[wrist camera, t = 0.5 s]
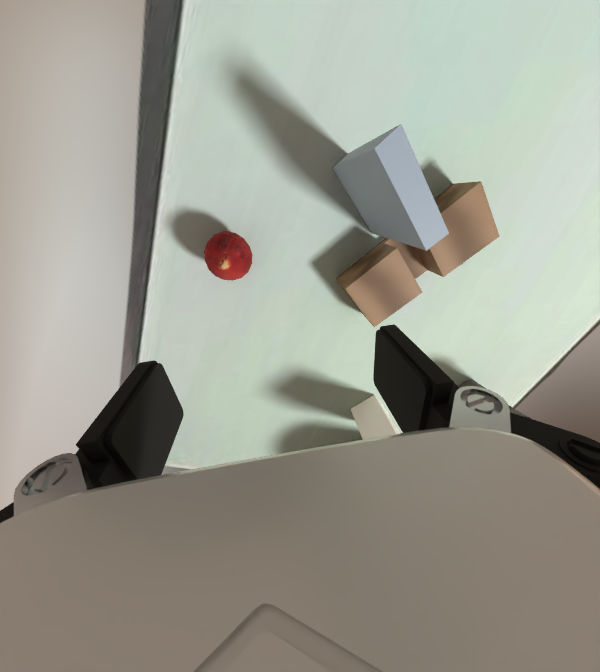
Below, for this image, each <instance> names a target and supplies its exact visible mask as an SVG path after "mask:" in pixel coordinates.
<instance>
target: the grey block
mask: <svg viewBox="0 0 600 672" xmlns="http://www.w3.org/2000/svg"><path fill="white" fill-rule="evenodd" d="M333 170H334V172H335V173H336V175H337V177H338V178H339V180H340V182H341V183H342V185H343V187H344V188H345V190H346V192H347V193H348V195H349V197H350V198H351V200H352V201H353V203H354V205H355V206H356V208H357V210H358V211H359V213H360V215H361V216H362V218H363V220H364V221H365V223H366V225H367V226H368V228H369V230H370V231H371V233H373V234H376V235H379V236H382V237H385V238H388V239H391V240H394V241H398V242H401V243H404V244H407V245H410V246H413V247H416V248H420V249H423V250H426V251H427V250H428V249H429V248H431V247H432V246H433V245H434V244H436V243H437V242H438V241H440V240H441V239H442V238H444V237H445V236H446V235H448V234H449V232H448V230H447V227H446V225H445V223H444V220H443V218H442V216H441V214H440V211H439V209H438V207H437V205H436V202H435V200H434V198H433V195H432V193H431V191H430V189H429V186H428V184H427V182H426V179H425V177H424V175H423V173H422V170H421V168H420V166H419V164H418V161H417V159H416V157H415V154H414V152H413V150H412V148H411V145H410V143H409V141H408V139H407V136H406V134H405V132H404V129H403V127H402V125H401V124H400V125H399V126H397V127H395V128H393V129H391V130H390V131H388V132H386V133H384V134H382V135H381V136H379V137H377V138H375V139H373V140H372V141H370V142H368V143H366V144H364V145H363V146H361V147H359V148H357V149H355V150H354V151H352V152H350V153H348V154H347V155H346V156H345V157H344V158H343V159H342V160H340V161H339V162H338V163H337V164H336V165H335V166H334V167H333Z"/></svg>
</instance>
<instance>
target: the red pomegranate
mask: <svg viewBox="0 0 600 672" xmlns="http://www.w3.org/2000/svg"><path fill="white" fill-rule="evenodd" d="M204 253H205V261H206V264H207V266H208V269H209V270H210V271H211V272H212V273H213V274H214V275H215V276H217V277H219V278H221V279H224V280H235V279H239V278H242V277H243V276H244V275H245V274H246V273H248V271H249V269H250V267H251V264H252V253H251V249H250V246H249V245H248V244H247V242H246V241H245V240H244V238H242V237H241V236H239V235H237V234H236V233H231V232H221V233H218V234H215V235H214V236H213V237H212V238H211V239H210V240H209V241H208V243H207V245H206V248H205V251H204Z"/></svg>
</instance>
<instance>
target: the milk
mask: <svg viewBox="0 0 600 672" xmlns="http://www.w3.org/2000/svg"><path fill="white" fill-rule="evenodd" d="M351 412H352V414H353V417H354V419H355V422H356V424H357V427H358V429H359V432H360V434H361V437H362V439H369V438H375V437H381V436H387V435H394V434H400V432H399V430H398V429H397V427H396V425H395V424H394V422H393V420H392V418H391V417H390V415H389V413H388V411H387V410H386V408H385V407H384V406H383V405H382V403H381V402H380V401H379V400H378V398H377V397H376V396H375V395H373V396H371V397H369V398H368V399H366V400H364V401H363V402H361V403H359V404H358V405H356V406H354V407H353V408H351Z"/></svg>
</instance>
